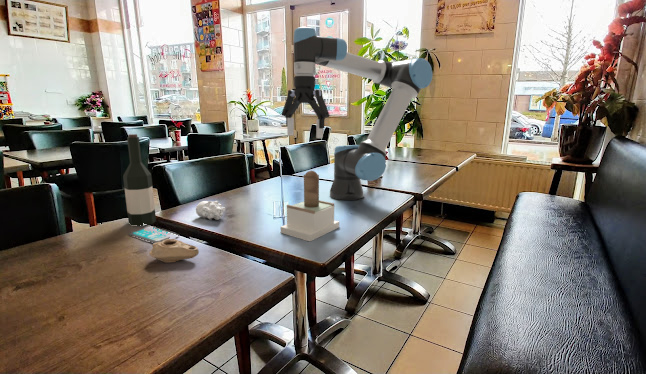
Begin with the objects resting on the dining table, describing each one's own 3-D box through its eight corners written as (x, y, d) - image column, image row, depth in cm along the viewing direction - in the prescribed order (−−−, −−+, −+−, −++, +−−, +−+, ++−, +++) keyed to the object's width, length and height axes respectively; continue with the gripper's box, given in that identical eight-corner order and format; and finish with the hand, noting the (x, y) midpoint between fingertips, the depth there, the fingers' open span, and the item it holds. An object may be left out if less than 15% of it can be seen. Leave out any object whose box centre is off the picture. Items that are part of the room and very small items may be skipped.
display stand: (311, 219, 124) (311, 196, 122) (339, 227, 117) (339, 202, 115) (280, 232, 112) (280, 206, 110) (309, 241, 105) (310, 213, 103)
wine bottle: (161, 220, 122) (152, 134, 115) (142, 227, 114) (131, 136, 107) (143, 217, 125) (133, 133, 118) (123, 224, 117) (111, 135, 110)
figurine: (209, 205, 131) (233, 208, 125) (201, 221, 128) (225, 225, 122) (197, 196, 125) (222, 198, 120) (188, 212, 122) (213, 216, 117)
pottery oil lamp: (190, 268, 86) (173, 247, 83) (157, 274, 91) (139, 255, 88) (207, 244, 93) (192, 224, 90) (176, 251, 98) (160, 232, 95)
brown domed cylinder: (310, 202, 116) (309, 169, 114) (321, 204, 113) (321, 170, 111) (301, 205, 112) (300, 171, 110) (313, 208, 109) (312, 172, 107)
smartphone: (156, 243, 100) (126, 233, 108) (157, 246, 101) (126, 236, 108) (181, 234, 107) (152, 225, 115) (182, 237, 108) (152, 228, 115)
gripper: (271, 76, 126) (272, 135, 131) (327, 73, 112) (326, 139, 117) (285, 77, 132) (286, 133, 137) (340, 75, 118) (338, 138, 123)
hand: (304, 136), depth 127 cm, fingers open, 13 cm apart
